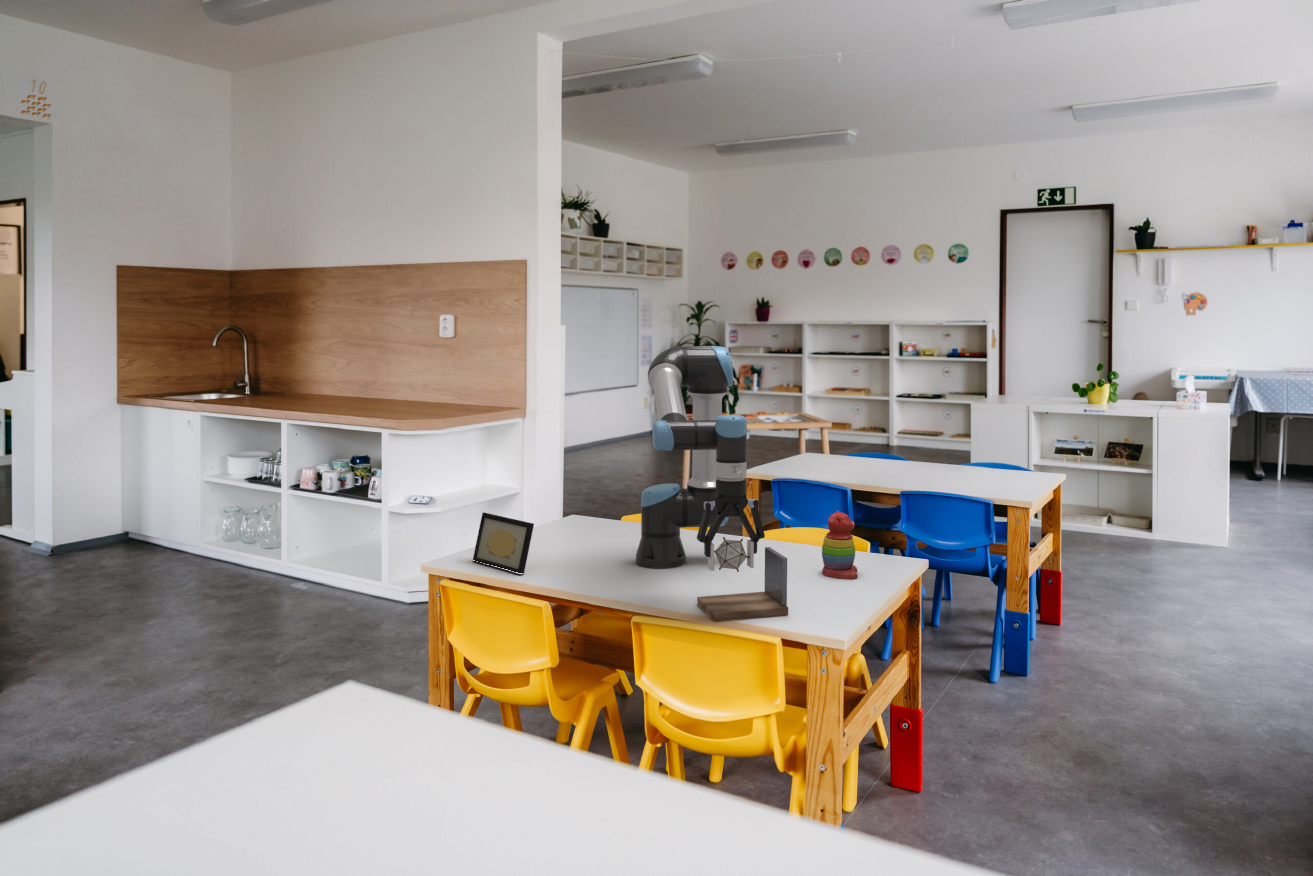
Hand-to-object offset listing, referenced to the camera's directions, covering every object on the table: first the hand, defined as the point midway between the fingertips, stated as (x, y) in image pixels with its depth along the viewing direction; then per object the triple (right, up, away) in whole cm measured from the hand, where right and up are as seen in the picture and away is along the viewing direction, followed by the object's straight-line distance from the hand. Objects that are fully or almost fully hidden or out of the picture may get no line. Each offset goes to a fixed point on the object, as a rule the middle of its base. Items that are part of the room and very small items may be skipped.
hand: (730, 568), depth 223 cm
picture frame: (-63, -6, +45) cm, 78 cm away
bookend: (+12, -8, +4) cm, 15 cm away
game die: (0, -1, 0) cm, 1 cm away
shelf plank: (+3, -11, +2) cm, 11 cm away
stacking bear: (+34, -7, +34) cm, 49 cm away
